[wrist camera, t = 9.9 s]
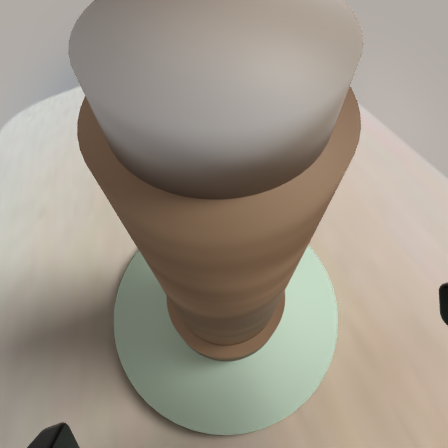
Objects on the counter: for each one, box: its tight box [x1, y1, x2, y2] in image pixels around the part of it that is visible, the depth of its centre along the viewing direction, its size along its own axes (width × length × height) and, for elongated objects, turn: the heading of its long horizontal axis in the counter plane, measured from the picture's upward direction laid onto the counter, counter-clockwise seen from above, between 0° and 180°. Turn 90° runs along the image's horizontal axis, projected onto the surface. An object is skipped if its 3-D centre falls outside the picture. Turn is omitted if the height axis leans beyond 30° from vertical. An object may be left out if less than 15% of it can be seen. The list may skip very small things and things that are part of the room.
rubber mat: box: [113, 245, 338, 435], centre depth 16 cm, size 11×11×1 cm
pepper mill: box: [69, 0, 363, 361], centre depth 10 cm, size 5×5×13 cm
